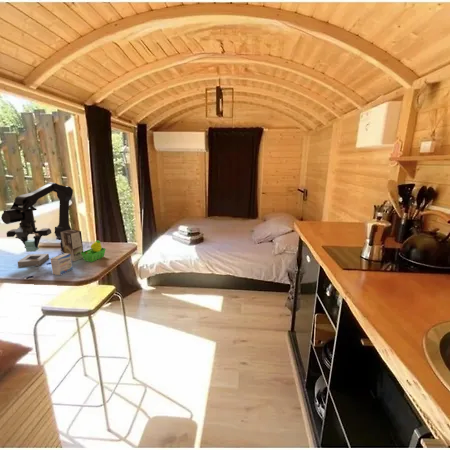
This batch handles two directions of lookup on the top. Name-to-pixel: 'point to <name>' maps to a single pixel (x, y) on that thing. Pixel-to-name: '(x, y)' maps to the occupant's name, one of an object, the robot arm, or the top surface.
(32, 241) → the block
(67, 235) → the coffee box
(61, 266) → the medicine box
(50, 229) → the robot arm
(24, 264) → the pocket plate
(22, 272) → the top surface
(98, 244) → the fruit basket
